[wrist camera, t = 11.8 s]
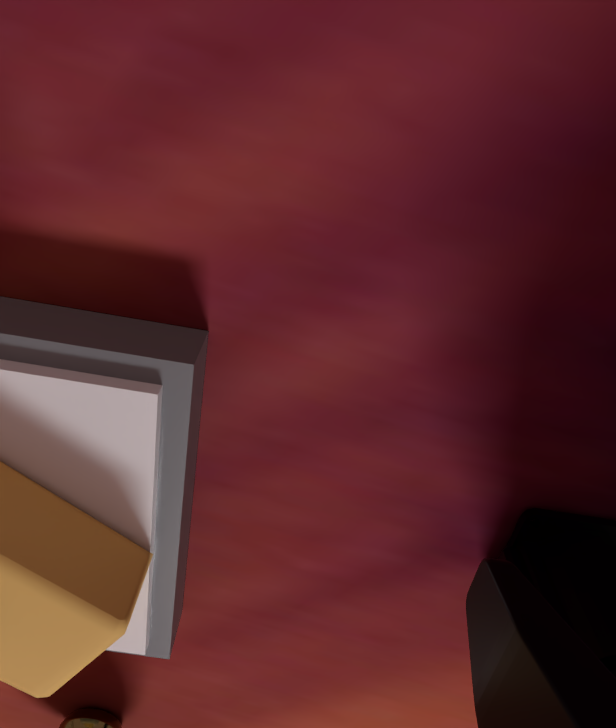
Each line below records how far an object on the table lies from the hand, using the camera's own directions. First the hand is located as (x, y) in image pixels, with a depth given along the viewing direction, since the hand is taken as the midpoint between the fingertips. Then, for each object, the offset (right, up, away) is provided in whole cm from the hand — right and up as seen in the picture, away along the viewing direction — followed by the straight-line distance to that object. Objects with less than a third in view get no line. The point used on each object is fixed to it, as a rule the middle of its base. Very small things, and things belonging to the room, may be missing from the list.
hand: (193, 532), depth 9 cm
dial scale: (-10, -2, +16) cm, 19 cm away
